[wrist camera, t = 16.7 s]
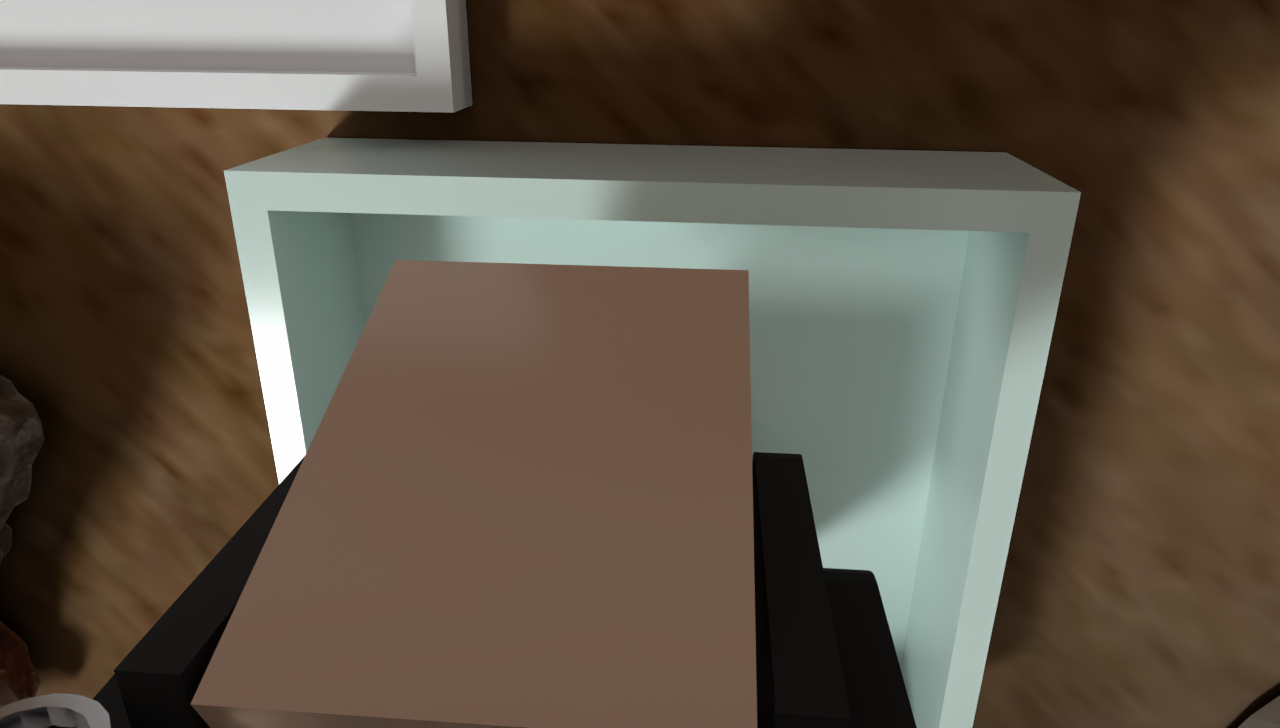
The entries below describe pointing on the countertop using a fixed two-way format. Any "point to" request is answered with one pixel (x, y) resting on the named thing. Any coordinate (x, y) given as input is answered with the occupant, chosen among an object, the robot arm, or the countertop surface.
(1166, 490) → the countertop surface
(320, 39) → the tray
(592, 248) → the seafoam storage bin
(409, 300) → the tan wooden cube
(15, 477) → the rock
